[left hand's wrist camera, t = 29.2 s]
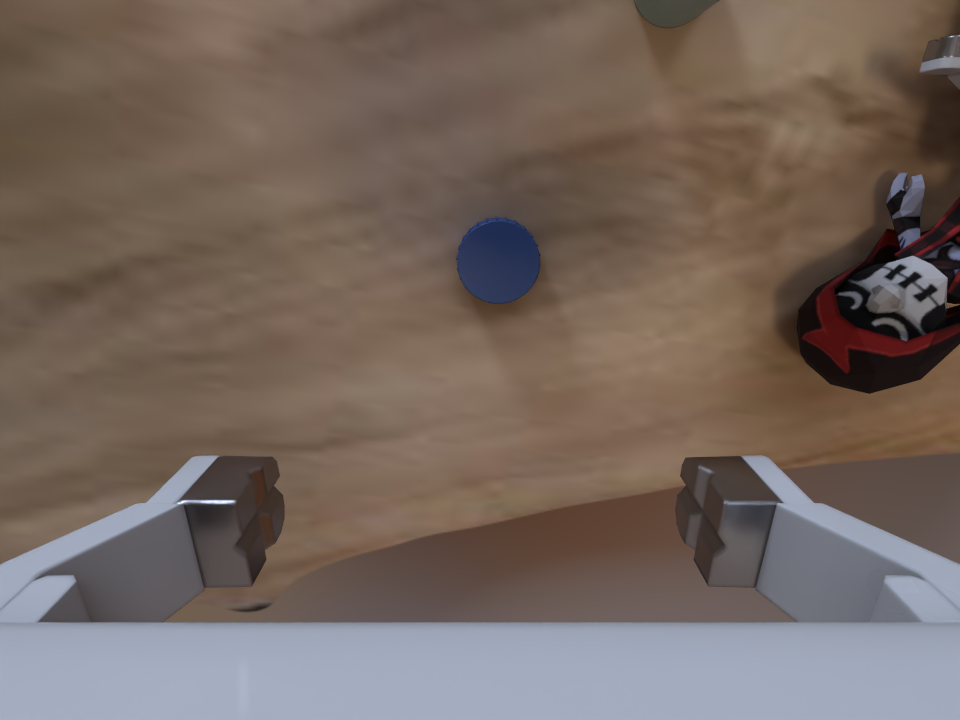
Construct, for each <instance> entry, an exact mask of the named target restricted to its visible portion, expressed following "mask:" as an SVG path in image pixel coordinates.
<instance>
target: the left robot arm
mask: <svg viewBox="0 0 960 720" xmlns="http://www.w3.org/2000/svg"><path fill="white" fill-rule="evenodd" d="M279 477H280V474H279V469H278V464H277V461H276V460H275V459H274V458H273V457H260V456H220V455H215V456H195V457H192V458H191V459H190V460H189V461H188V462H187V463H186V464H185V465H184V466H183V467H182V468H181V469H180V470H179V471H178V472H177V473H176V474H175V475H174V476H173V477H172V478H171V479H170V480H169V481H168V482H167V483H166V484H165V485H164V486H163V487H162V488H161V489H160V490H159V491H158V492H157V493H156V494H155V495H154V496H153V497H152V498H151V499H149V500H148V501H147V502H146V503H137V504H135V505H132V506H130V507H128V508H126V509H123V510H121V511H119V512H117V513H114V514H112V515H110V516H108V517H105V518H103V519H101V520H99V521H96V522H94V523H92V524H90V525H87V526H85V527H83V528H81V529H78V530H76V531H74V532H72V533H69V534H67V535H65V536H63V537H60V538H58V539H56V540H54V541H51V542H49V543H47V544H45V545H42V546H40V547H38V548H36V549H33V550H31V551H29V552H27V553H24V554H22V555H20V556H18V557H15V558H13V559H11V560H9V561H6V562H4V563H2V564H0V720H960V564H958V563H955V562H953V561H951V560H949V559H947V558H944V557H942V556H940V555H938V554H935V553H933V552H931V551H929V550H926V549H924V548H922V547H920V546H917V545H915V544H913V543H911V542H908V541H906V540H904V539H902V538H899V537H897V536H895V535H893V534H890V533H888V532H886V531H884V530H881V529H879V528H877V527H875V526H872V525H870V524H868V523H866V522H863V521H861V520H859V519H857V518H854V517H852V516H850V515H848V514H845V513H843V512H841V511H839V510H837V509H834V508H832V507H830V506H828V505H825V504H823V503H814V502H812V500H811V499H810V498H808V496H806V495H805V494H804V492H803V491H801V490H800V489H799V488H798V487H797V486H796V485H795V484H794V483H793V482H792V481H791V480H790V479H789V478H788V477H787V476H786V475H785V474H784V473H783V472H782V471H781V470H780V469H779V468H778V467H777V466H776V465H775V464H774V463H773V462H772V461H771V460H770V459H769V458H768V457H765V456H763V455H755V456H725V457H689V458H685V460H684V462H683V464H682V468H681V474H680V477H681V478H682V480H683V481H684V483H685V484H686V486H685V487H684V488H683V489H682V491H681V492H680V493H679V494H678V495H677V500H676V507H675V512H676V523H677V526H678V530H679V533H680V535H681V537H682V539H683V541H684V543H685V544H687V545H688V546H690V547H692V548H693V549H695V555H694V561H695V563H696V565H697V567H698V568H699V570H700V572H701V574H702V576H703V578H704V579H705V581H706V583H707V585H708V586H710V587H746V588H756V591H758V592H759V593H760V594H761V595H763V596H764V597H765V598H767V599H768V600H769V601H770V602H772V603H773V604H774V605H775V606H777V607H778V608H779V609H780V610H782V611H783V612H784V613H786V614H787V615H788V616H789V617H791V618H792V619H793V620H794V621H796V622H164V621H166V620H167V619H168V618H170V617H171V616H172V615H173V614H175V613H176V612H177V611H178V610H180V609H181V608H182V607H184V606H185V605H186V604H187V603H189V602H190V601H191V600H192V599H194V598H195V597H196V596H198V595H199V594H200V593H201V592H203V591H204V588H214V587H249V586H252V585H253V583H254V581H255V579H256V578H257V576H258V574H259V572H260V570H261V569H262V567H263V565H264V563H265V561H266V555H265V550H266V549H267V548H269V547H270V546H272V545H273V544H275V543H276V541H277V539H278V537H279V535H280V533H281V530H282V526H283V521H284V508H285V506H284V499H283V495H282V494H281V493H280V492H279V491H278V489H277V488H276V487H275V486H274V484H275V483H276V481H277V480H278V478H279Z"/></svg>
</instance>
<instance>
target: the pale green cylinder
mask: <svg viewBox="0 0 960 720" xmlns="http://www.w3.org/2000/svg"><path fill="white" fill-rule="evenodd" d="M634 1H635V4H636V6H637V8H638V10H639V12H640V13H641V15H642V16H643V17H644V18H645V19H646V20H647V21H649V22H650V23H652V24H654V25H656V26H659V27H664V28H672V27H677V26H681V25H683V24H686V23H687V22H689V21H691V20H692V19H694V18H695V17H696V16H698V15H699V14H701V13H702V12H704V11H705V10H707V9H708V8H709V7H711V6H712V5H714V4H715V3H717V2H718V1H720V0H634Z"/></svg>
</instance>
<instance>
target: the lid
mask: <svg viewBox="0 0 960 720" xmlns="http://www.w3.org/2000/svg"><path fill="white" fill-rule="evenodd" d="M537 246H538V245H537V243H536V242H535V241H534V240H533V236H532V235H531V233H528V231H527V230H526V228H525V227H524V226H523V227H522V226H521V225H520V224H518V223H517V221H515V222H514V221H512V220H509V219H507V218H497V217H496V218H491V219H486V220H484V221H482V222H480V223H477V224H476V225H475V226H474V227H472V228H471V229H469V232H468V233H467V234H466V235H465V237H464V236H463V239H462V243H461V245H459V249H458V250H459V253H458V255H457V260H458V263H457V265H458V267H457V270H458V272H459V276H460V279H461V281H462V282H463V284H464V286H465V288H466V289H467V290H468V291H469V292H470V293H471V294H472V295H474V296H475V297H477V298H478V299H480V300H483V301H485V302H488V303H494V304H501V303H508V302H511V301H514V300H516V299H518V298H520V297H521V296H523V295H524V294H525V293H526V292H528V291H529V289H530V288H531V287H532V286H533V284H534V283H535V281H536V279H537V276H538V273H539V268H540V254H539V251H538V248H537Z"/></svg>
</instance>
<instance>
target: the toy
mask: <svg viewBox="0 0 960 720" xmlns="http://www.w3.org/2000/svg"><path fill="white" fill-rule="evenodd" d="M907 174H908V173H899V174H898V176H897V177H896V178H895V180H894V181H893V184H892V187H891V190H890V193H889V195H888V199H887V203H886V205H887V207H888V209H889V212H890V215H891V218H892V221H893V225H894V228H895V230H891V229H887V230H886V231H885V233H884V234H883V235H882V237H881V238H880V240H879V241H878V243H877V244H876V245H875V247H874V248H873V250H872V251H871V253H870V254H869V255H868V257H867V258H866V260H864V261H862V262H861V263H859V264H857V265H856V266H854V267H852V268H850V269H849V270H847V271H845V272H844V273H842V274H840V275H838V276H837V277H835V278H833V279H831V280H830V281H828V282H826V283H825V284H823V285H821V286H819V287H818V288H816V290H815V291H814V292H813V293H812V294H811V296H810V297H809V298H808V299H807V300H806V302H805V303H804V304H803V305H802V306H801V307H800V309H799V310H798V319H797V332H798V339H799V345H800V352H801V355H802V357H803V358H804V360H805V362H806V363H807V364H808V365H809V366H810V367H812V368H813V369H814V370H815V371H816V372H817V373H818V374H819V375H821V376H822V377H823V378H824V379H825V380H826V381H827V382H829V383H830V384H832V385H836V386H840V387H844V388H848V389H852V390H856V391H860V392H864V393H869V394H870V393H873V392H877V391H881V390H884V389H888V388H891V387H895V386H899V385H902V384H906V383H910V382H913V381H917V380H920V379H922V378H923V377H924V376H925V375H926V374H927V373H928V372H929V371H930V370H932V369H933V368H934V367H935V366H936V365H937V364H938V363H939V362H940V361H941V360H943V359H944V358H945V357H946V356H947V355H948V354H949V353H950V352H951V351H952V350H954V349H955V348H956V347H957V346H958V345H959V344H960V305H958V306H955V307H951V308H948V309H946V303H953V304H960V197H959V199H958V200H957V201H956V202H955V203H954V204H953V205H952V207H951V208H950V209H949V210H948V211H947V212H946V214H945V215H944V216H943V217H942V218H941V219H940V220H939V222H938V223H937V224H936V225H935V226H934V227H933V228H932V230H929V231H926V232H922V233H920V214H921V208H922V203H923V197H924V191H925V185H924V181H923V177H922V174H921V175H916V176H912V177H911V179H910V182H909V187H910V188H908V187H907V183H908V181H907Z"/></svg>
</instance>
